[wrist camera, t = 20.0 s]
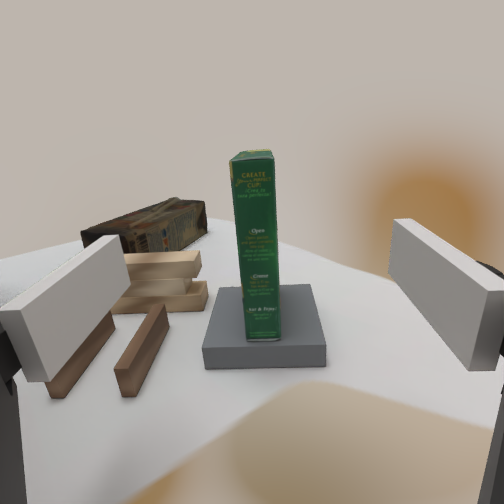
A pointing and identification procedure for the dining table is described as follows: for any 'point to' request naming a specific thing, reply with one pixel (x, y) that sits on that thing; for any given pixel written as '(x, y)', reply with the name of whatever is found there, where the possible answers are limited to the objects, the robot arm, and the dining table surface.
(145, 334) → the walnut rack
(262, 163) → the coffee box
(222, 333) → the stand pad
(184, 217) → the beverage carton
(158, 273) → the offcut stack
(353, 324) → the dining table surface
